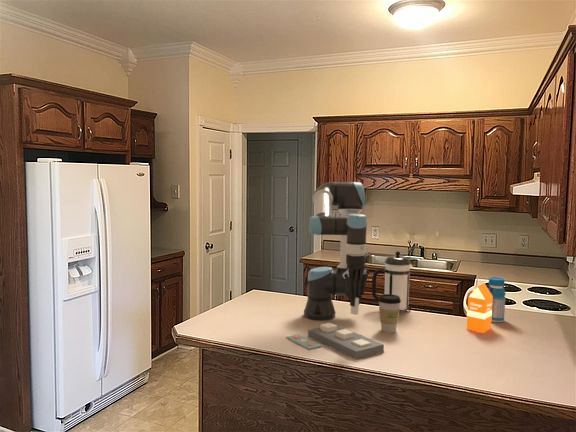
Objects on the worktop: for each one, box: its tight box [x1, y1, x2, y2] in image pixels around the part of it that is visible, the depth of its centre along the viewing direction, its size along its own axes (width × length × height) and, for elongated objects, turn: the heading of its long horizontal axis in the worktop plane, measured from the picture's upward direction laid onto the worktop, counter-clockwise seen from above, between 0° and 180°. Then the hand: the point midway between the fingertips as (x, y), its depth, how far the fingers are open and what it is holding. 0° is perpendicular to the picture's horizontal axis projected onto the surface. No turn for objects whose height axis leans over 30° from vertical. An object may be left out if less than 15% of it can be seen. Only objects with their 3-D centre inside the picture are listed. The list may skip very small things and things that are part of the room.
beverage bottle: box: [487, 276, 506, 323], centre depth 227 cm, size 8×8×20 cm
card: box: [285, 334, 322, 351], centre depth 194 cm, size 16×6×1 cm, turn 34°
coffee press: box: [371, 251, 413, 314], centre depth 241 cm, size 17×16×30 cm
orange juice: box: [466, 282, 493, 334], centre depth 213 cm, size 8×9×20 cm
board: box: [307, 323, 385, 360], centre depth 193 cm, size 30×14×3 cm, turn 34°
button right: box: [352, 339, 371, 348], centre depth 185 cm, size 5×5×4 cm
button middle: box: [336, 328, 354, 340], centre depth 193 cm, size 5×5×4 cm
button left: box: [319, 322, 338, 333], centre depth 201 cm, size 5×5×4 cm
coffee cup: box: [377, 294, 401, 333], centre depth 210 cm, size 10×10×15 cm
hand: (354, 313), depth 188 cm, fingers closed
